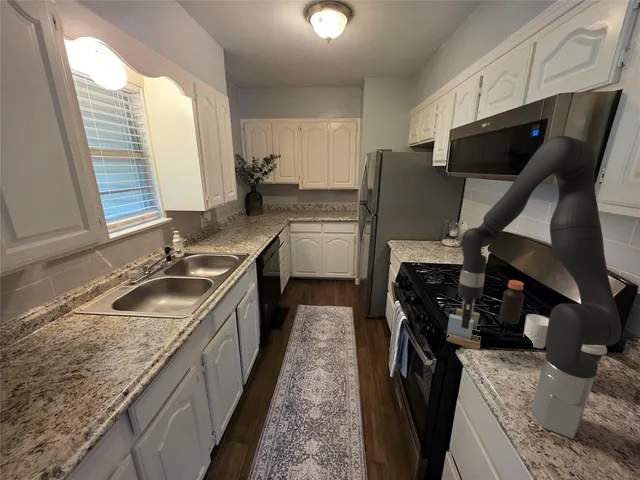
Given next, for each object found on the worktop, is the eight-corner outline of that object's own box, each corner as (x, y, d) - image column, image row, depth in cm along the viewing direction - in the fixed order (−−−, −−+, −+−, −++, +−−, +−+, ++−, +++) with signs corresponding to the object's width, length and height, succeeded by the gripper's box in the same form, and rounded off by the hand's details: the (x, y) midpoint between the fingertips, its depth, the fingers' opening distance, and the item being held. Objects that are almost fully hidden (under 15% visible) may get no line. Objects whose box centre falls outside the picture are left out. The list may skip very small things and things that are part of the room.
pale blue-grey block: (469, 343, 98) (473, 322, 96) (446, 337, 102) (449, 316, 100) (470, 340, 100) (473, 319, 98) (447, 333, 104) (450, 313, 102)
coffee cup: (563, 364, 88) (574, 325, 84) (601, 385, 80) (615, 343, 76) (546, 373, 85) (557, 332, 81) (584, 395, 76) (598, 352, 72)
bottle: (504, 320, 114) (513, 277, 109) (521, 328, 108) (531, 284, 103) (494, 323, 112) (502, 280, 107) (510, 332, 106) (519, 287, 101)
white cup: (538, 337, 103) (543, 314, 100) (553, 350, 95) (559, 326, 93) (516, 336, 104) (521, 313, 101) (530, 349, 96) (535, 325, 94)
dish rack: (479, 350, 95) (483, 330, 93) (446, 340, 101) (449, 321, 99) (480, 331, 107) (483, 312, 105) (450, 323, 113) (453, 305, 110)
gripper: (483, 291, 86) (476, 335, 90) (483, 277, 98) (477, 316, 102) (458, 287, 90) (452, 328, 94) (461, 273, 102) (455, 311, 106)
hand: (465, 322), depth 98 cm, fingers open, 8 cm apart
